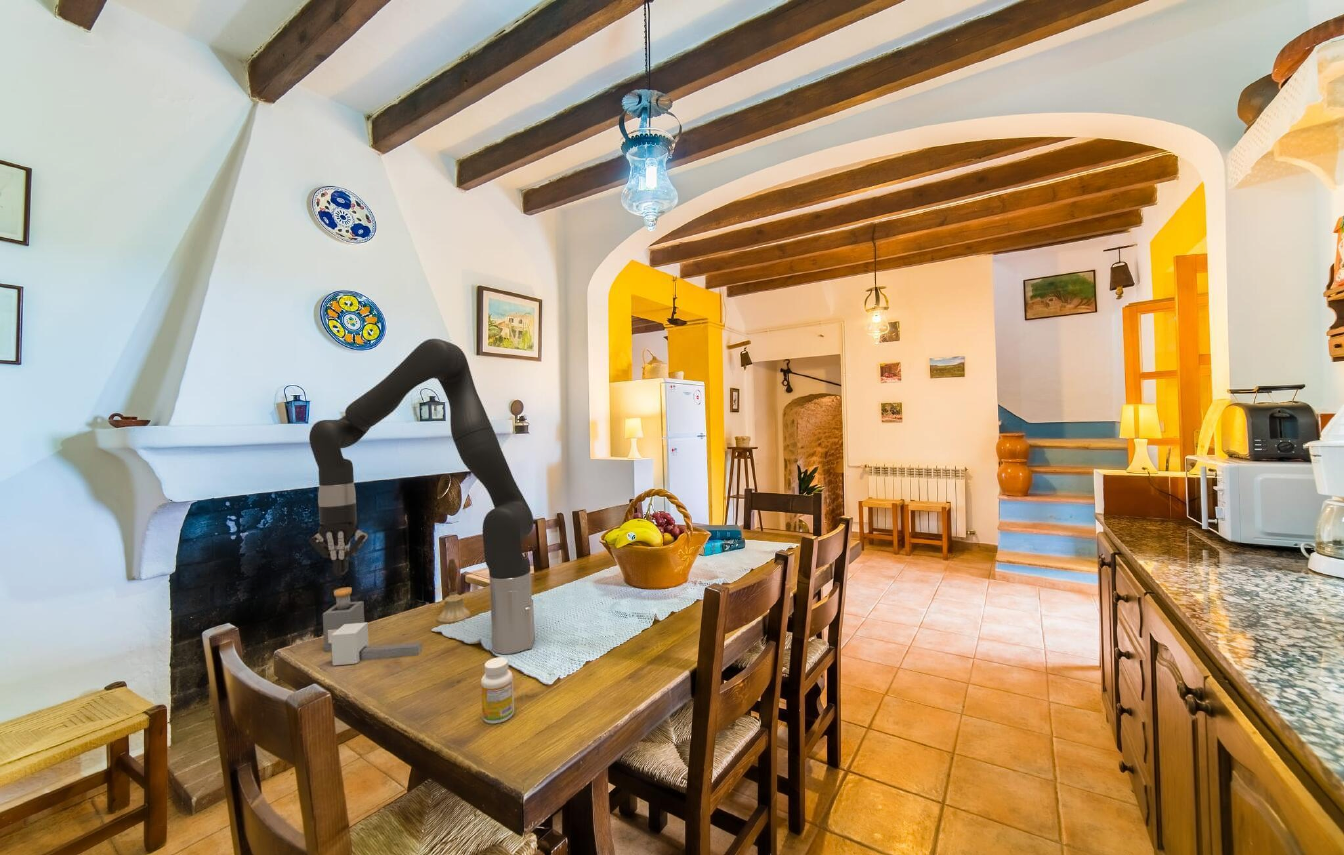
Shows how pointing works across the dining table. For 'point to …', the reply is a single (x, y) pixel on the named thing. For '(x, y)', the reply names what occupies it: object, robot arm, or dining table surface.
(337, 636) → the carriage
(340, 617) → the grey square housing
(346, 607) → the ball
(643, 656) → the dining table surface
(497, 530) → the robot arm
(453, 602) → the hand bell
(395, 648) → the rail
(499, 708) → the supplement bottle
